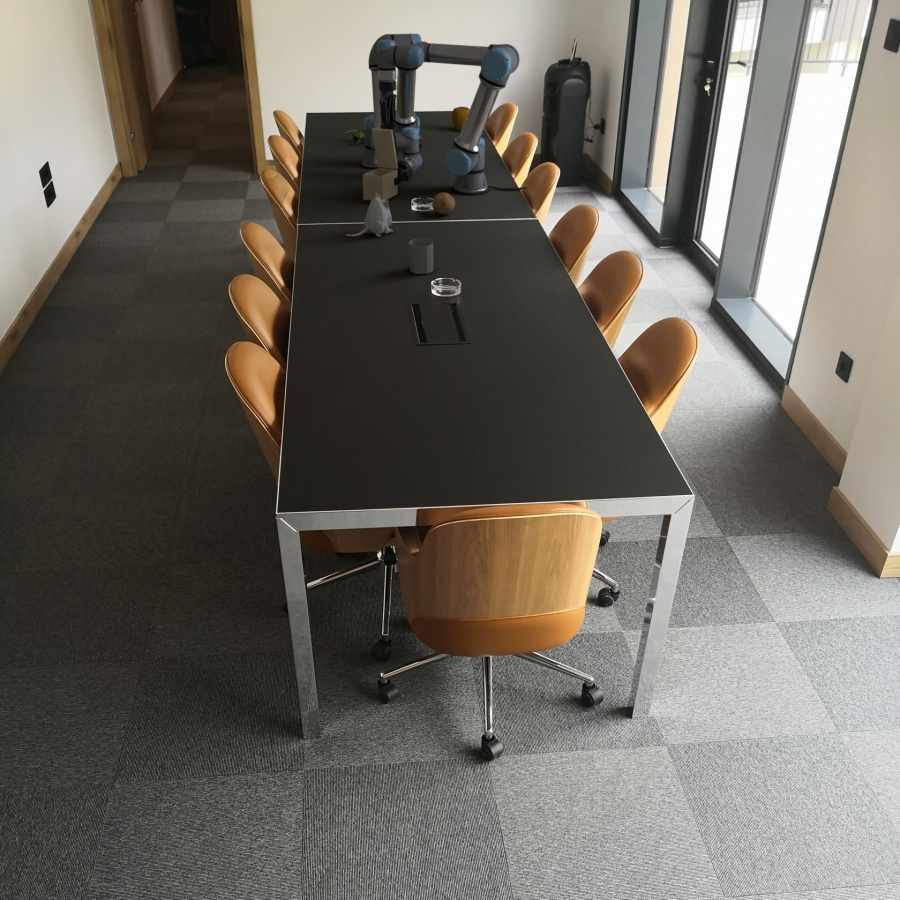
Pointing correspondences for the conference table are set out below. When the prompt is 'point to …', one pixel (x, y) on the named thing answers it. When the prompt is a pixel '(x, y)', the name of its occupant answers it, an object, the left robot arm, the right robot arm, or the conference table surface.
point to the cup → (421, 256)
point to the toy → (377, 217)
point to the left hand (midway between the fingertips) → (384, 181)
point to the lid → (385, 147)
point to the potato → (443, 203)
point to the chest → (380, 183)
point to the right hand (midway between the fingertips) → (389, 137)
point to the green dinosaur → (356, 137)
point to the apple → (459, 117)
